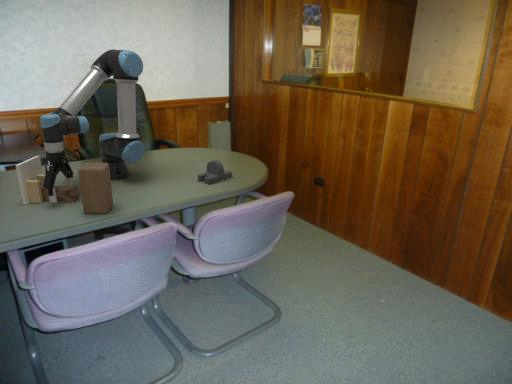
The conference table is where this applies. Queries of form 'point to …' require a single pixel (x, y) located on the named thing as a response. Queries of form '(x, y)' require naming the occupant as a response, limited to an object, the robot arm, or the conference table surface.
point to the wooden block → (95, 188)
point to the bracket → (214, 173)
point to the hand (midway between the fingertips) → (61, 196)
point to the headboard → (30, 180)
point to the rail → (62, 194)
